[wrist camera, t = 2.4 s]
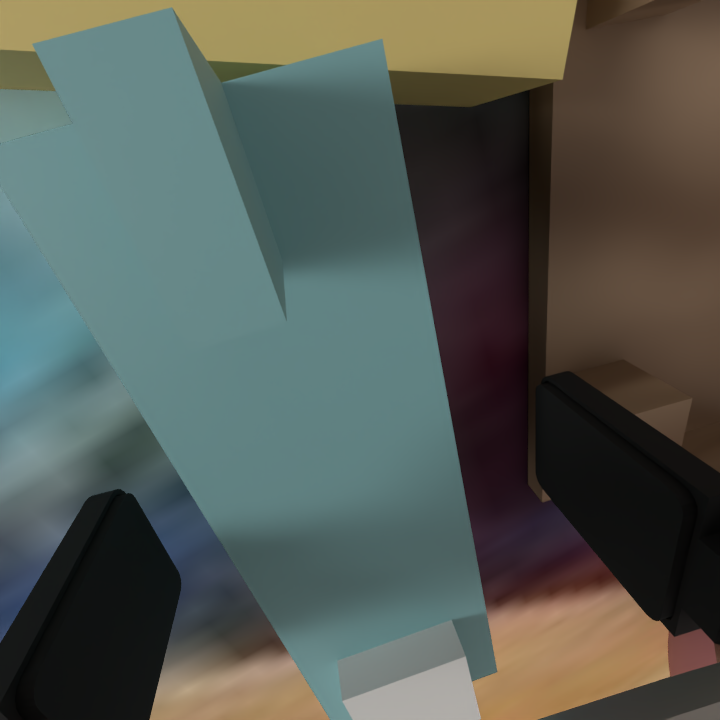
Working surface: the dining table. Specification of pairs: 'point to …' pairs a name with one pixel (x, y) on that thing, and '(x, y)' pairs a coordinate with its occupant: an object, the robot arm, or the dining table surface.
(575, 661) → the dining table surface
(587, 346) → the jig
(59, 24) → the tan wooden bar
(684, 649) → the balloon
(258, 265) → the teal notched block
